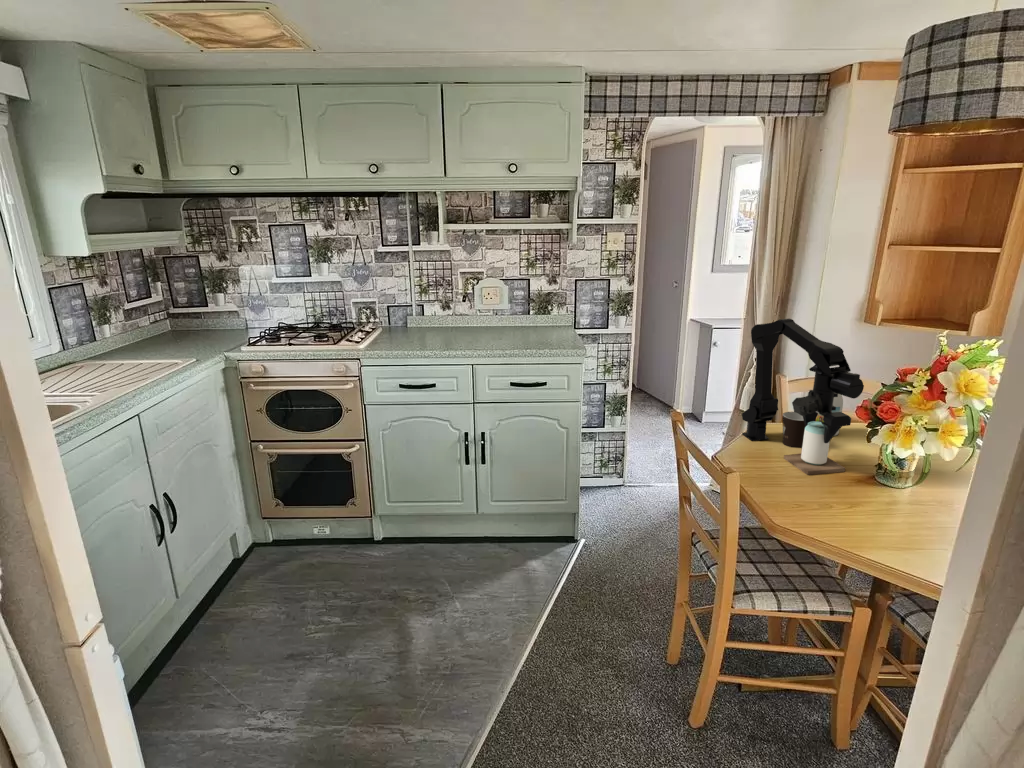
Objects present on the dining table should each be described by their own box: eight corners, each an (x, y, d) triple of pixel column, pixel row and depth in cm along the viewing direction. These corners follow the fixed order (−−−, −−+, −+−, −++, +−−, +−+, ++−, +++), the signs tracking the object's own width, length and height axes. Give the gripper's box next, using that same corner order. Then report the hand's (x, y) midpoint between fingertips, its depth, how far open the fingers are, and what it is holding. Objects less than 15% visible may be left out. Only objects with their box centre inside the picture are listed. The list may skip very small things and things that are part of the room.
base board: (783, 458, 180) (784, 455, 180) (818, 455, 182) (818, 452, 182) (807, 475, 169) (808, 471, 169) (844, 471, 171) (845, 468, 170)
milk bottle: (819, 426, 205) (827, 373, 199) (842, 432, 200) (850, 377, 194) (809, 432, 201) (817, 377, 195) (832, 438, 195) (841, 382, 189)
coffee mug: (804, 451, 185) (808, 422, 182) (776, 445, 190) (779, 417, 188) (812, 439, 194) (815, 412, 191) (784, 434, 199) (788, 407, 196)
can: (829, 460, 175) (835, 424, 172) (821, 468, 171) (827, 430, 167) (805, 454, 180) (810, 418, 177) (797, 461, 175) (801, 424, 172)
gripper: (780, 381, 176) (774, 428, 181) (819, 400, 158) (812, 452, 163) (813, 379, 178) (806, 426, 182) (856, 397, 160) (847, 449, 165)
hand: (817, 437), depth 173 cm, fingers open, 8 cm apart
